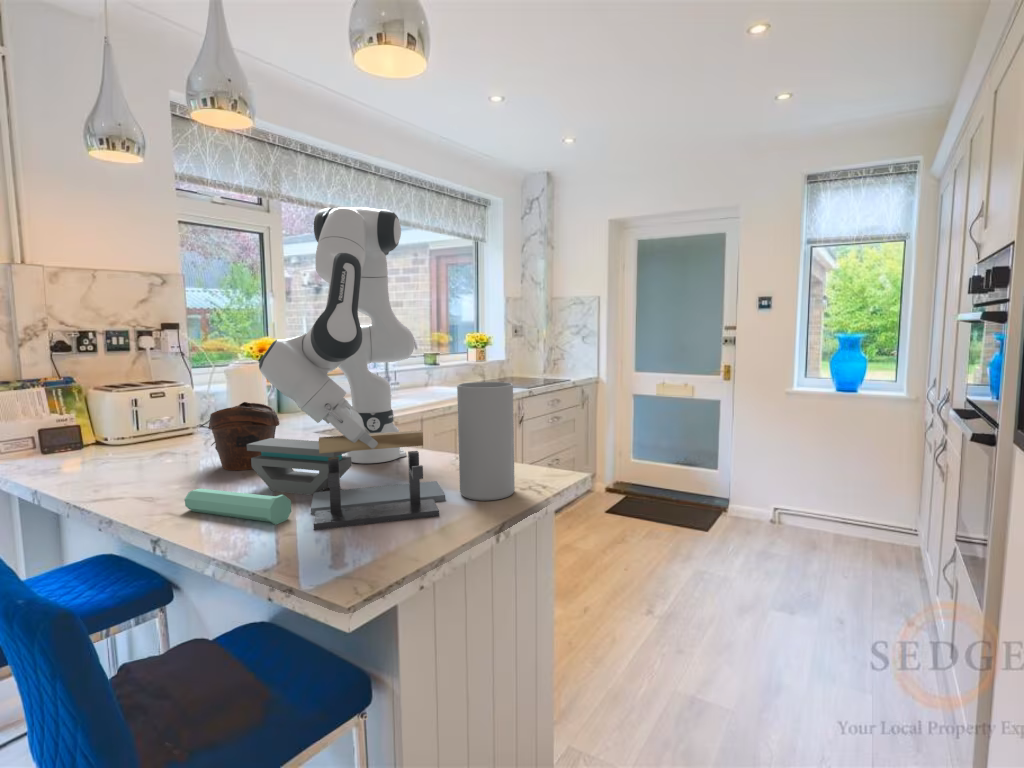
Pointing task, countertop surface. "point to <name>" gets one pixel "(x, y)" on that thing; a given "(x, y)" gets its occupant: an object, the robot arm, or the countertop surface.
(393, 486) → the rubber mat
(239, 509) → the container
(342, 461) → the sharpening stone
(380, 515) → the hook stand
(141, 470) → the countertop surface
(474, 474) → the cylinder vase
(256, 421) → the brown tapered pot
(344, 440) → the oak rail
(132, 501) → the countertop surface
